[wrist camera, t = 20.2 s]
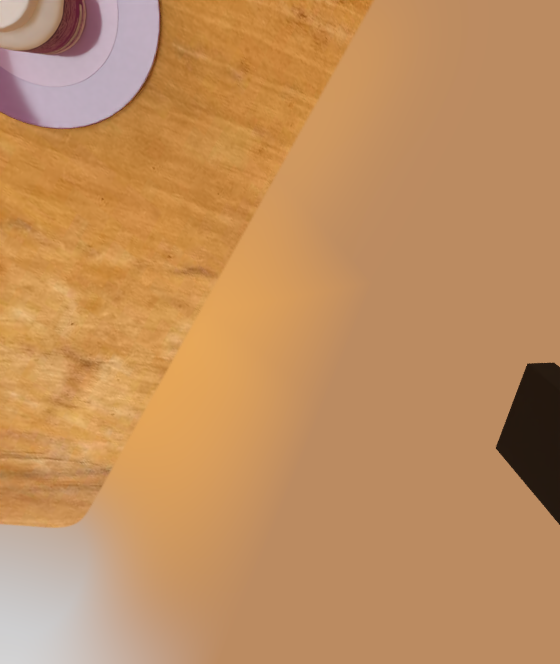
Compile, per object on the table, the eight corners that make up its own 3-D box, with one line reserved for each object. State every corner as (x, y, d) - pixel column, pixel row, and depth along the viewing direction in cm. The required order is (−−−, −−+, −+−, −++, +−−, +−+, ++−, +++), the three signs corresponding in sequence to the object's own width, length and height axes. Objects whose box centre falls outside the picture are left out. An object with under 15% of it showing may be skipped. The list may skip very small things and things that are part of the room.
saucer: (155, -129, 27) (154, -136, 26) (164, 133, 34) (164, 135, 33) (-124, -175, 25) (-136, -185, 24) (-56, 120, 31) (-63, 121, 30)
